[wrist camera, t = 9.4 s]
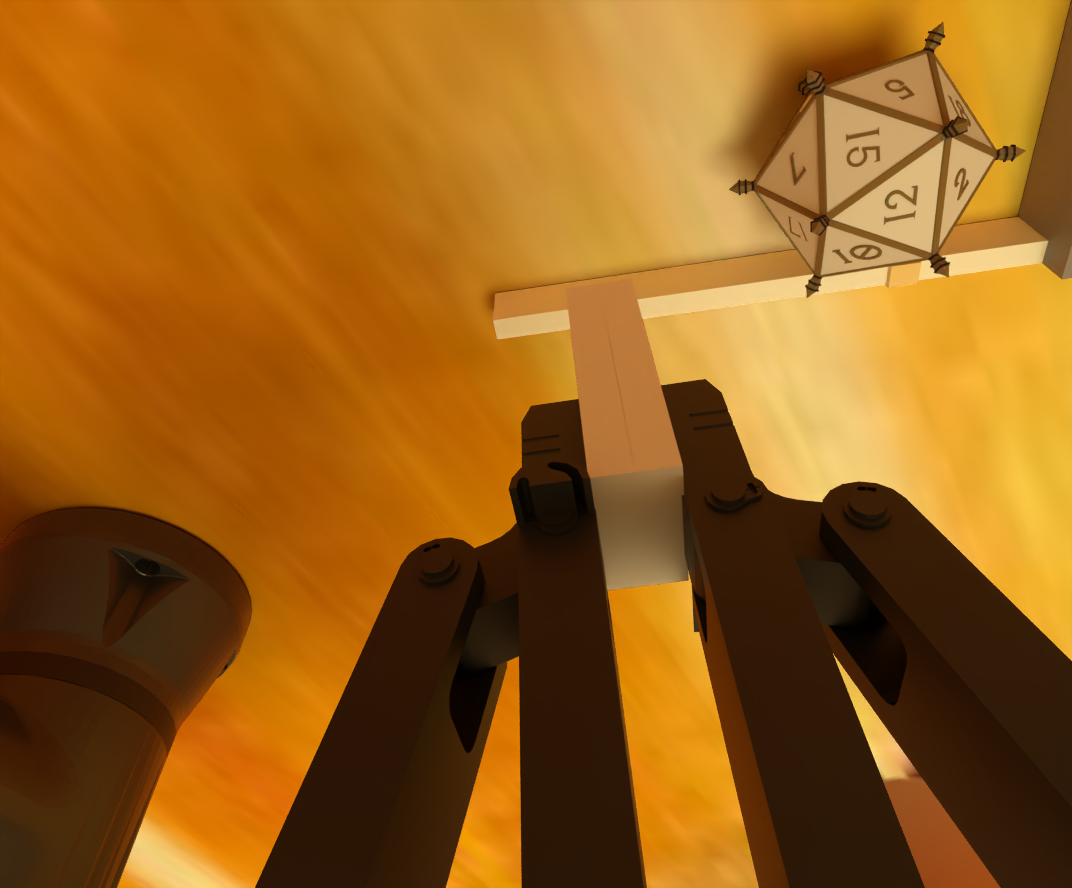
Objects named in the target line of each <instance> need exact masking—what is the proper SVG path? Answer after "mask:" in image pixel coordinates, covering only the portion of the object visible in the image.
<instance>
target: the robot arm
mask: <svg viewBox="0 0 1072 888" xmlns="http://www.w3.org/2000/svg"><path fill="white" fill-rule="evenodd" d="M566 297H567V305H568V313H569V322H570V330H571V339H572V347H573V355H574V364H575V372H576V380H577V389H578V397H579V399H576V400H569V401H562V402H555V403H548V404H541V405H534V406H531V407H530V409H529V411H528V412H527V414H526V416H525V417H524V419H523V421H522V422H521V430H522V468H520V470H519V471H518V472H517V473H516V474H515V475H514V476H513V477H512V479H511V483H510V487H509V492H510V496H511V500H512V504H513V508H514V512H515V516H516V520H517V523H516V524H515V525H514V526H513V527H512V529H511V530H509V531H508V532H507V533H506V534H504V535H503V536H502V537H500V538H498V539H496V540H494V541H492V542H489V543H487V544H484V545H482V546H479V547H477V548H473V547H472V546H471V545H469V544H468V543H466V542H465V541H464V540H459V539H454V538H442V539H435V540H432V541H430V542H427V543H424V544H422V545H420V546H419V547H417V548H416V549H415V550H413V551H412V552H411V553H409V555H408V556H407V557H406V559H405V560H404V562H403V563H402V564H401V566H400V569H399V571H398V573H397V575H396V577H395V580H394V582H393V584H392V586H391V588H390V591H389V593H388V595H387V597H386V599H385V602H384V604H383V606H382V608H381V610H380V613H379V615H378V617H377V619H376V622H375V624H374V626H373V628H372V630H371V633H370V635H369V637H368V639H367V641H366V644H365V646H364V648H363V650H362V652H361V655H360V657H359V659H358V661H357V664H356V666H355V668H354V670H353V672H352V675H351V677H350V679H349V681H348V683H347V686H346V688H345V690H344V692H343V694H342V697H341V699H340V701H339V703H338V705H337V708H336V710H335V712H334V714H333V717H332V719H331V721H330V723H329V725H328V728H327V730H326V732H325V734H324V736H323V739H322V741H321V743H320V745H319V747H318V750H317V752H316V754H315V756H314V759H313V761H312V763H311V765H310V767H309V770H308V772H307V774H306V776H305V778H304V781H303V783H302V785H301V787H300V789H299V792H298V794H297V796H296V798H295V801H294V803H293V805H292V807H291V809H290V812H289V814H288V816H287V818H286V820H285V823H284V825H283V827H282V829H281V831H280V834H279V836H278V838H277V840H276V842H275V845H274V847H273V849H272V851H271V854H270V856H269V858H268V860H267V862H266V865H265V867H264V869H263V871H262V873H261V876H260V878H259V880H258V882H257V884H256V887H255V888H446V884H447V881H448V877H449V874H450V870H451V866H452V863H453V859H454V856H455V852H456V848H457V845H458V841H459V838H460V834H461V830H462V827H463V823H464V820H465V816H466V812H467V809H468V805H469V802H470V798H471V794H472V791H473V787H474V784H475V780H476V776H477V773H478V769H479V766H480V762H481V758H482V755H483V751H484V748H485V744H486V740H487V737H488V733H489V730H490V726H491V722H492V719H493V715H494V712H495V708H496V704H497V701H498V697H499V694H500V690H501V686H502V683H503V679H504V676H505V672H506V668H507V661H509V660H511V659H513V658H516V657H518V656H519V689H520V778H521V866H522V888H647V885H646V878H645V870H644V863H643V855H642V847H641V840H640V832H639V825H638V817H637V809H636V802H635V794H634V787H633V779H632V771H631V764H630V756H629V749H628V741H627V733H626V726H625V718H624V710H623V703H622V695H621V688H620V680H619V672H618V665H617V657H616V650H615V642H614V634H613V627H612V619H611V612H610V605H609V599H608V591H607V590H614V589H622V588H630V587H638V586H646V585H655V584H663V583H671V582H679V581H687V580H688V570H689V575H690V579H691V583H692V596H693V618H694V632H699V633H700V637H701V641H702V646H703V650H704V654H705V659H706V663H707V667H708V671H709V676H710V680H711V684H712V689H713V693H714V697H715V701H716V706H717V710H718V714H719V718H720V723H721V727H722V731H723V736H724V740H725V744H726V748H727V753H728V757H729V761H730V765H731V770H732V774H733V778H734V783H735V787H736V791H737V795H738V800H739V804H740V808H741V812H742V817H743V821H744V825H745V830H746V834H747V838H748V842H749V847H750V851H751V855H752V860H753V864H754V868H755V872H756V877H757V881H758V885H759V888H925V887H924V885H923V882H922V879H921V877H920V874H919V872H918V869H917V867H916V864H915V861H914V859H913V856H912V854H911V851H910V849H909V846H908V844H907V841H906V838H905V836H904V833H903V831H902V828H901V826H900V823H899V821H898V818H897V816H896V813H895V810H894V808H893V806H892V803H891V800H890V798H889V795H888V793H887V790H886V788H885V785H884V783H883V780H882V777H881V775H880V772H879V770H878V767H877V765H876V762H875V760H874V757H873V755H872V752H871V749H870V747H869V744H868V742H867V739H866V737H865V734H864V732H863V729H862V727H861V724H860V721H859V719H858V716H857V714H856V711H855V709H854V706H853V704H852V701H851V699H850V696H849V693H848V691H847V688H846V686H845V683H844V681H843V678H842V676H841V673H840V671H839V668H838V665H837V663H836V660H835V658H834V655H835V657H836V658H837V659H838V661H839V662H840V664H841V665H842V666H843V668H844V669H845V671H846V672H847V673H848V675H849V676H850V678H851V679H852V680H853V682H854V683H855V685H856V686H857V687H858V689H859V690H860V692H861V693H862V694H863V696H864V697H865V699H866V700H867V701H868V703H869V704H870V706H871V707H872V708H873V710H874V711H875V713H876V714H877V715H878V717H879V718H880V720H881V721H882V722H883V724H884V725H885V727H886V728H887V729H888V731H889V732H890V734H891V735H892V736H893V738H894V739H895V741H896V742H897V743H898V745H899V746H900V748H901V749H902V750H903V752H904V753H905V755H906V756H907V757H908V759H909V760H910V762H911V763H912V764H913V766H914V767H915V769H916V770H917V771H918V773H919V774H920V775H921V777H922V778H923V780H924V781H925V782H926V784H927V785H928V787H929V788H930V789H931V791H932V792H933V794H934V795H935V796H936V798H937V799H938V801H939V802H940V803H941V805H942V806H943V808H944V809H945V810H946V812H947V813H948V814H949V816H950V817H951V819H952V820H953V822H954V823H955V824H956V826H957V827H958V829H959V830H960V831H961V833H962V834H963V835H964V837H965V838H966V839H967V841H968V842H969V844H970V845H971V847H972V848H973V850H974V851H975V852H976V854H977V855H978V856H979V858H980V859H981V861H982V862H983V863H984V865H985V866H986V868H987V869H988V871H989V872H990V873H991V875H992V876H993V877H994V879H995V880H996V882H997V883H998V885H999V886H1000V887H1001V888H1072V661H1071V660H1070V659H1069V658H1068V657H1067V656H1066V655H1065V654H1064V653H1063V652H1062V651H1061V650H1060V649H1059V648H1058V647H1057V646H1056V645H1055V644H1054V643H1053V642H1052V641H1051V640H1050V639H1049V638H1048V637H1047V636H1046V635H1045V634H1044V633H1042V632H1041V631H1040V630H1039V629H1038V628H1037V627H1036V626H1035V625H1034V624H1033V623H1032V622H1031V621H1030V620H1029V619H1028V618H1027V617H1026V616H1025V615H1024V614H1023V613H1022V612H1021V611H1020V610H1019V609H1018V608H1017V607H1016V606H1015V605H1014V604H1013V603H1012V602H1011V601H1010V600H1009V599H1008V598H1007V597H1006V596H1005V595H1004V594H1003V593H1002V592H1001V591H1000V590H999V589H998V588H997V587H996V586H995V585H994V584H993V583H992V582H991V581H990V580H989V579H988V578H986V577H985V576H984V575H983V574H982V573H981V572H980V571H979V570H978V569H977V568H976V567H975V566H974V565H973V564H972V563H971V562H970V561H969V560H968V559H967V558H966V557H965V556H964V555H963V554H962V553H961V552H960V551H959V550H958V549H957V548H956V547H955V546H954V545H953V544H952V543H951V542H950V541H949V540H948V539H947V538H946V537H945V536H944V535H943V534H942V533H941V532H940V531H939V530H938V529H937V528H936V527H935V526H934V525H933V524H932V523H930V522H929V521H928V520H927V519H926V518H925V517H924V516H923V515H922V514H921V513H920V512H919V511H918V510H917V509H916V508H915V507H914V506H913V505H912V504H911V503H910V502H909V501H908V500H907V499H906V498H905V497H903V496H902V495H901V494H899V493H898V492H896V491H895V490H893V489H891V488H888V487H886V486H883V485H880V484H877V483H869V482H853V483H847V484H842V485H840V486H838V487H836V488H834V489H832V490H830V491H829V493H828V494H827V495H826V497H825V498H824V499H823V502H814V501H804V500H796V499H791V498H785V497H783V496H780V495H777V494H774V493H772V492H771V491H769V490H768V489H767V488H766V486H765V485H764V484H763V482H762V481H760V480H759V479H757V478H755V477H754V475H753V474H752V471H751V469H750V466H749V463H748V461H747V458H746V456H745V453H744V450H743V448H742V445H741V443H740V440H739V437H738V435H737V432H736V429H735V427H734V426H733V422H732V419H731V416H730V414H729V412H728V409H727V406H726V403H725V401H724V398H723V395H722V393H721V392H720V391H719V390H718V389H717V388H715V387H714V386H713V385H712V384H711V383H709V382H708V381H707V380H706V379H703V380H696V381H689V382H682V383H675V384H668V385H660V381H659V377H658V374H657V370H656V366H655V363H654V359H653V355H652V352H651V348H650V344H649V341H648V337H647V334H646V330H645V326H644V323H643V319H642V315H641V312H640V308H639V304H638V301H637V297H636V294H635V290H634V286H633V283H632V279H625V280H619V281H612V282H606V283H599V284H593V285H587V286H580V287H574V288H567V289H566ZM250 619H251V603H250V598H249V595H248V592H247V590H246V588H245V586H244V584H243V582H242V580H241V579H240V577H239V576H238V575H237V573H236V572H235V571H234V570H233V568H232V567H231V566H230V565H229V564H228V563H227V562H226V561H225V560H224V559H223V558H222V557H221V556H219V555H218V554H217V553H216V552H215V551H213V550H212V549H211V548H209V547H208V546H206V545H205V544H204V543H202V542H201V541H199V540H197V539H196V538H194V537H192V536H190V535H188V534H187V533H185V532H183V531H181V530H179V529H176V528H174V527H172V526H169V525H167V524H165V523H162V522H159V521H156V520H153V519H150V518H147V517H144V516H140V515H136V514H132V513H127V512H122V511H116V510H108V509H97V508H74V509H64V510H58V511H53V512H49V513H45V514H42V515H39V516H36V517H34V518H32V519H30V520H28V521H26V522H24V523H22V524H21V525H19V526H18V527H17V528H16V529H14V530H13V531H12V532H11V533H10V535H9V536H8V537H7V538H6V540H5V541H4V543H3V544H2V545H1V547H0V888H117V886H118V884H119V881H120V879H121V876H122V873H123V871H124V868H125V865H126V863H127V860H128V858H129V855H130V852H131V850H132V847H133V844H134V842H135V839H136V837H137V834H138V831H139V829H140V826H141V824H142V821H143V818H144V816H145V813H146V810H147V808H148V805H149V803H150V800H151V797H152V795H153V792H154V790H155V787H156V785H157V782H158V779H159V777H160V774H161V772H162V769H163V767H164V764H165V761H166V759H167V756H168V754H169V751H170V749H171V746H172V744H173V741H174V738H175V736H176V734H177V731H178V729H179V728H180V726H181V725H182V723H183V722H184V721H185V719H186V718H187V717H188V716H189V714H190V713H191V712H192V710H193V709H194V708H195V706H196V705H197V704H198V703H199V701H200V700H201V699H202V697H203V696H204V695H205V693H206V692H207V691H208V689H209V688H210V687H211V685H212V684H213V683H214V681H215V680H216V679H217V678H218V677H220V676H221V675H222V674H223V673H224V672H225V671H226V670H227V669H228V667H229V666H230V665H231V664H232V663H233V661H234V660H235V658H236V656H237V655H238V653H239V651H240V648H241V646H242V643H243V640H244V637H245V635H246V632H247V629H248V626H249V623H250ZM832 652H833V653H832ZM833 654H834V655H833Z"/></svg>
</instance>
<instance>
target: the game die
mask: <svg viewBox="0 0 1072 888" xmlns="http://www.w3.org/2000/svg"><path fill="white" fill-rule="evenodd" d="M928 33H929V35H928V38H927V39H925V41H926V44H925V48H924V49H923V50H921V51H918V52H915V53H913V54H910V55H907V56H904V57H901V58H899V59H896V60H893V61H890V62H887V63H884V64H882V65H879V66H876V67H873V68H870V69H868V70H865V71H862V72H859V73H856V74H854V75H851V76H848V77H845V78H842V79H839V80H837V81H834V82H831V83H828V84H825V85H824V80H825V79H824V78H822V77H821V75H822V73H821V72H816V71H811V70H808V69H807V78H802V77H799V86H798V90H799V91H801V92H802V95H804V94H805V95H806V96H807V97H806V98H805V100H804V101H803V103H802V105H801V106H800V108H799V109H798V111H797V113H796V114H795V116H794V117H793V119H792V121H791V122H790V124H789V125H788V127H787V129H786V130H785V132H784V133H783V135H782V137H781V138H780V140H779V141H778V143H777V145H776V146H775V148H774V149H773V151H772V153H771V154H770V156H769V157H768V159H767V161H766V162H765V164H764V165H763V167H762V169H761V170H760V172H759V173H758V175H757V177H756V178H755V180H754V181H752V182H750V181H746V179H745V181H740V180H739V182H737V183H736V184H735V185H734V186H732V187H731V188H730V189H729V190H731V191H733V192H736V193H738V194H739V195H741V194H742V193H745V194H747V192H750V191H755V192H756V194H757V195H758V197H759V198H760V199H761V201H762V202H763V204H764V205H765V206H766V208H767V209H768V211H769V212H770V213H771V215H772V216H773V218H774V219H775V221H776V222H777V223H778V225H779V226H780V228H781V229H782V230H783V232H784V233H785V235H786V236H787V237H788V239H789V240H790V242H791V243H792V244H793V246H794V247H795V249H796V250H797V252H798V253H799V254H800V256H801V257H802V259H803V260H804V261H805V263H806V264H807V266H808V267H809V268H810V270H811V271H812V273H813V274H814V275H813V277H812V278H811V279H809V280H808V284H807V285H805V288H806V293H807V298H808V297H809V296H811V295H812V294H814V293H815V292H819V290H818V289H819V286H821V284H820V283H821V279H822V278H823V277H829V276H835V275H841V274H847V273H853V272H859V271H865V270H871V269H877V268H883V267H890V266H896V265H902V264H908V263H914V262H920V261H926V260H929V261H930V263H931V266H930V267H931V268H933V269H934V273H936V274H941V275H944V276H946V277H949V265H950V262H947V261H946V260H945V259H946V257H944V258H943V257H942V256H940V255H939V252H940V250H941V248H942V247H943V245H944V244H945V242H946V240H947V239H948V237H949V235H950V234H951V232H952V230H953V229H954V227H955V225H956V224H957V222H958V220H959V219H960V217H961V215H962V214H963V212H964V211H965V209H966V207H967V206H968V204H969V202H970V201H971V199H972V197H973V196H974V194H975V192H976V191H977V189H978V187H979V186H980V184H981V182H982V181H983V179H984V178H985V176H986V174H987V173H988V171H989V169H990V168H991V166H992V164H993V163H994V161H995V160H1003V162H1006V160H1011V161H1013V160H1014V159H1015V158H1016V157H1018V156H1019V155H1020V154H1022V153H1023V152H1025V151H1026V150H1023V149H1021V148H1018V147H1016V145H1011V146H1010V147H1008V146H1003V148H1001V149H999V150H996V148H995V147H994V145H993V144H992V142H991V141H990V139H989V138H988V136H987V134H986V133H985V131H984V130H983V128H982V127H981V125H980V124H979V122H978V121H977V119H976V117H975V116H974V114H973V113H972V111H971V110H970V108H969V107H968V105H967V104H966V102H965V100H964V99H963V97H962V96H961V94H960V93H959V91H958V90H957V88H956V87H955V85H954V83H953V82H952V80H951V79H950V77H949V76H948V74H947V73H946V71H945V70H944V68H943V66H942V65H941V63H940V62H939V60H938V59H937V57H936V56H935V54H934V50H935V49H936V48H937V46H939V45H941V43H940V42H941V40H942V38H945V35H944V25H943V22H942V23H941V24H940V25H938V26H937V27H936V28H934V29H933V30H932V31H928Z"/></svg>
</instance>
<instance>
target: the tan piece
mask: <svg viewBox="0 0 1072 888" xmlns="http://www.w3.org/2000/svg"><path fill="white" fill-rule="evenodd" d="M939 255H940V256H942V257H943V258H944V257H946V259H945V260H946V261H947V262H950V265H949V276H952V275H959V274H967V273H974V272H981V271H988V270H995V269H1002V268H1009V267H1016V266H1023V265H1030V264H1038V263H1043V264H1044V265H1045V266H1046V267H1048V268H1049V269H1050V270H1051V271H1052V272H1054V273H1055V274H1056V275H1057V276H1058V277H1060V278H1061V279H1067V278H1072V1H1071V5H1070V9H1069V13H1068V17H1067V21H1066V25H1065V29H1064V33H1063V37H1062V41H1061V45H1060V50H1059V54H1058V58H1057V62H1056V66H1055V70H1054V74H1053V78H1052V82H1051V86H1050V90H1049V94H1048V98H1047V102H1046V106H1045V110H1044V114H1043V118H1042V122H1041V126H1040V130H1039V134H1038V138H1037V142H1036V146H1035V150H1034V154H1033V158H1032V162H1031V166H1030V170H1029V174H1028V178H1027V182H1026V186H1025V190H1024V194H1023V198H1022V202H1021V206H1020V211H1019V215H1018V217H1012V218H1005V219H999V220H992V221H985V222H978V223H971V224H964V225H958V226H955V227H954V229H953V230H952V232H951V234H950V235H949V237H948V239H947V240H946V242H945V244H944V245H943V247H942V248H941V250H940V252H939ZM930 266H931V263H930V261H929V260H926V261H920V262H914V263H908V264H902V265H896V266H890V267H883V268H877V269H871V270H865V271H859V272H853V273H847V274H841V275H835V276H829V277H823V278H822V279H821V283H820V284H821V286H819V289H818V290H819V292H815V293H814V294H812V295H818V294H825V293H832V292H839V291H846V290H853V289H860V288H867V287H874V286H881V285H886V286H887V287H888V288H893V287H900V286H907V285H914V284H918V280H924V279H931V278H938V277H945V276H944V275H941V274H936V273H934V269H933V268H931V267H930ZM813 275H814V274H813V273H812V271H811V270H810V268H809V267H808V266H807V264H806V263H805V261H804V260H803V259H802V257H801V256H800V254H799V253H798V252H797V250H796V249H794V250H787V251H781V252H774V253H767V254H760V255H753V256H746V257H740V258H733V259H726V260H719V261H712V262H706V263H699V264H692V265H685V266H678V267H672V268H665V269H658V270H651V271H644V272H637V273H631V274H624V275H617V276H610V277H603V278H597V279H590V280H583V281H576V282H569V283H563V284H556V285H549V286H542V287H535V288H528V289H522V290H515V291H508V292H501V293H495V302H494V314H493V322H494V327H495V331H496V336H497V340H498V339H505V338H512V337H519V336H526V335H534V334H541V333H548V332H555V331H562V330H569V329H570V322H569V313H568V305H567V297H566V289H567V288H574V287H580V286H587V285H593V284H599V283H606V282H612V281H619V280H625V279H632V283H633V286H634V290H635V294H636V297H637V301H638V304H639V308H640V312H641V315H642V319H647V318H654V317H661V316H668V315H676V314H683V313H690V312H697V311H704V310H711V309H718V308H725V307H732V306H739V305H747V304H754V303H761V302H768V301H775V300H782V299H789V298H796V297H803V296H807V293H806V288H805V285H807V284H808V280H809V279H811V278H812V277H813Z"/></svg>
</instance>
